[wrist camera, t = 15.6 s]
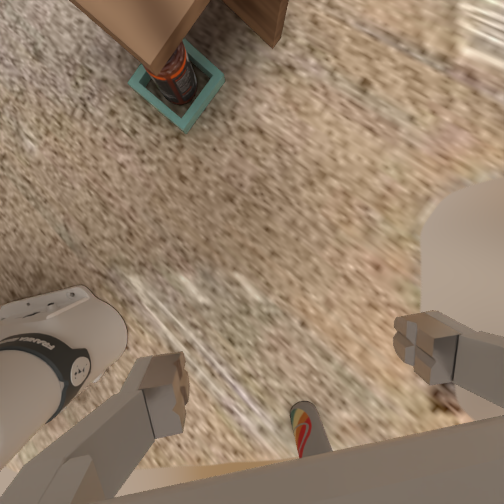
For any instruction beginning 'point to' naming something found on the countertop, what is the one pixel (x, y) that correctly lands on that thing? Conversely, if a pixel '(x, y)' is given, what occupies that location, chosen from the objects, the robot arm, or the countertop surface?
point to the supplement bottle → (176, 77)
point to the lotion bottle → (308, 430)
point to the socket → (200, 103)
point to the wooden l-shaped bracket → (173, 23)
